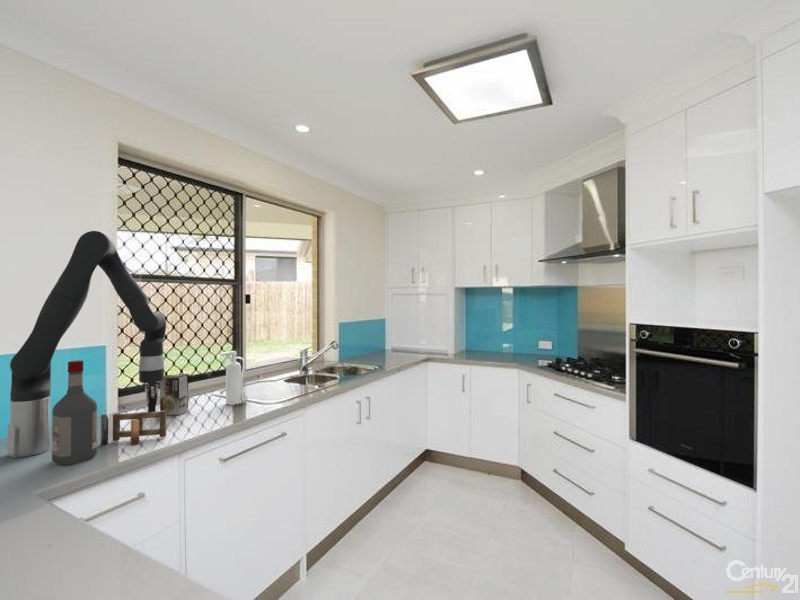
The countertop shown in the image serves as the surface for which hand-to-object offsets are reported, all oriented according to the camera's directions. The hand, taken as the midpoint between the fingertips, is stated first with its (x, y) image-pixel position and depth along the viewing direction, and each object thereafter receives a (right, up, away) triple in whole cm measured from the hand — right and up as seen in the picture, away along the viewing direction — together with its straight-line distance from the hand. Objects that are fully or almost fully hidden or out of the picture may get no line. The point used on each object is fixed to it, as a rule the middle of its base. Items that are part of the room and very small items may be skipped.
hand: (151, 416), depth 138 cm
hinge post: (-11, -7, -8) cm, 15 cm away
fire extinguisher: (+10, -8, +45) cm, 47 cm away
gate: (-2, -7, -4) cm, 8 cm away
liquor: (-10, -7, -21) cm, 24 cm away
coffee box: (-9, -8, +29) cm, 31 cm away
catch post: (-1, -7, -8) cm, 10 cm away
